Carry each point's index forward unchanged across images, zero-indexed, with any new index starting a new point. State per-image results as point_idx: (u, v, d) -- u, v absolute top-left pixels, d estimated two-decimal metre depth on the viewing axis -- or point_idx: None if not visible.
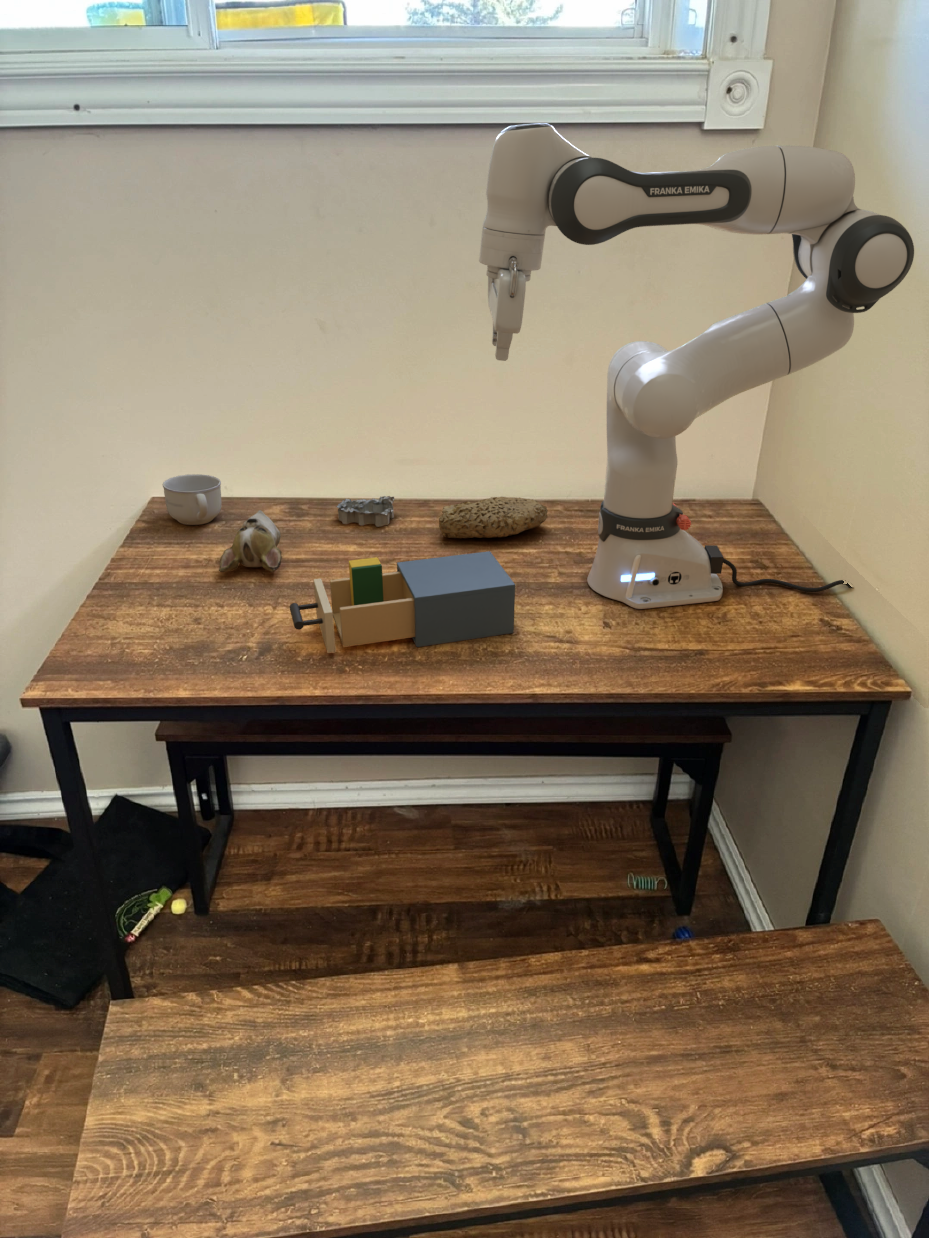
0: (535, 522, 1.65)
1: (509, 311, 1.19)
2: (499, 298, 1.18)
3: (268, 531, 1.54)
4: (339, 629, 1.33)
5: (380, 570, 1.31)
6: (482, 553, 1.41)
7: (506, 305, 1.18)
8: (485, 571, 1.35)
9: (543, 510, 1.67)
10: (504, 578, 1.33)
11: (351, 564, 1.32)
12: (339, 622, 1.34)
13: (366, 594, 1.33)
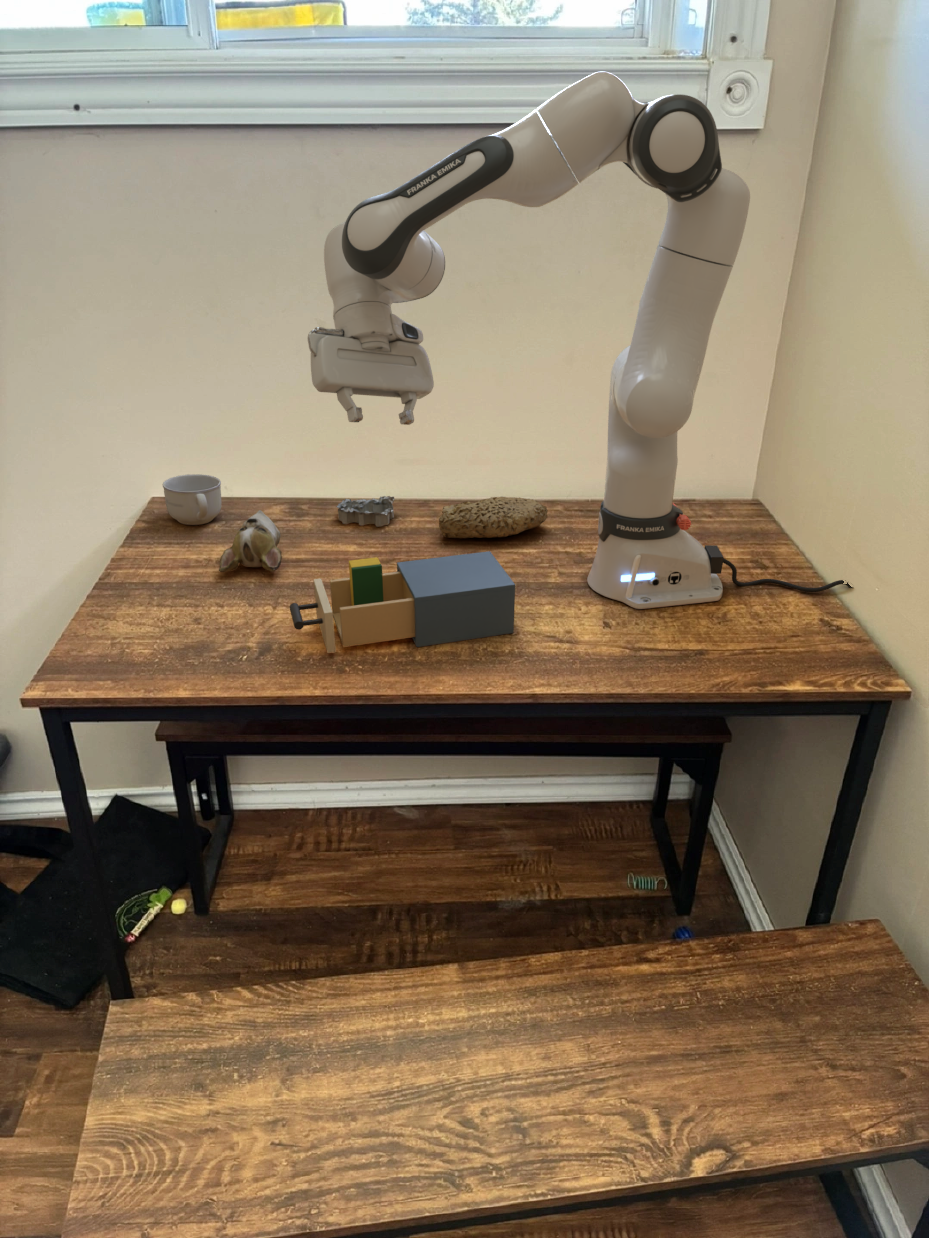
0: (535, 522, 1.65)
1: (315, 368, 1.26)
2: (311, 363, 1.27)
3: (268, 531, 1.54)
4: (339, 629, 1.33)
5: (380, 570, 1.31)
6: (482, 553, 1.41)
7: (313, 365, 1.26)
8: (485, 571, 1.35)
9: (543, 510, 1.67)
10: (504, 578, 1.33)
11: (351, 564, 1.32)
12: (339, 622, 1.34)
13: (366, 594, 1.33)
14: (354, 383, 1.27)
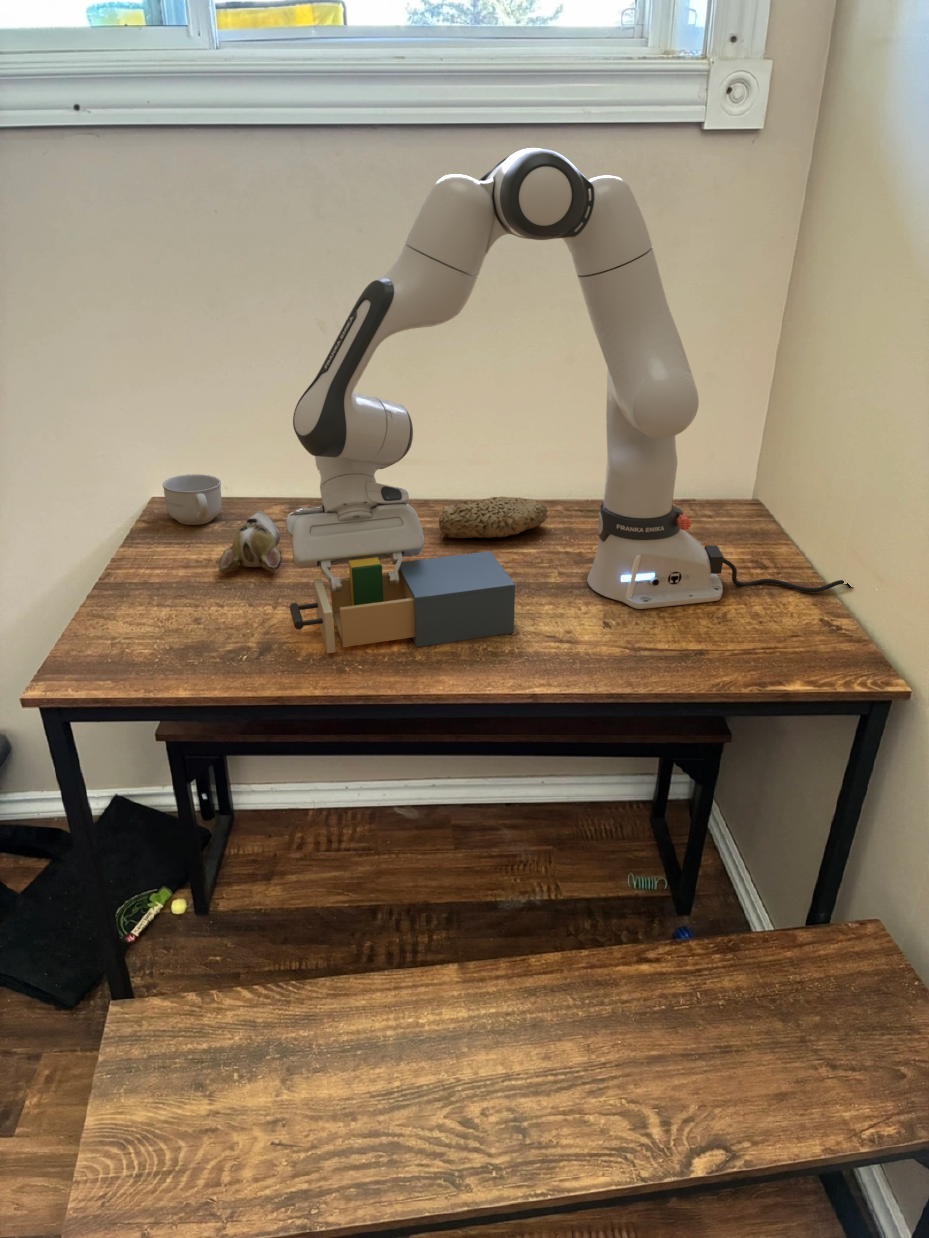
0: (535, 522, 1.65)
1: (292, 548, 1.33)
2: None
3: (268, 531, 1.54)
4: (339, 629, 1.33)
5: (380, 570, 1.31)
6: (482, 553, 1.41)
7: (292, 545, 1.34)
8: (485, 571, 1.35)
9: (543, 510, 1.67)
10: (504, 578, 1.33)
11: (351, 564, 1.32)
12: (339, 622, 1.34)
13: (366, 594, 1.33)
14: (328, 556, 1.32)
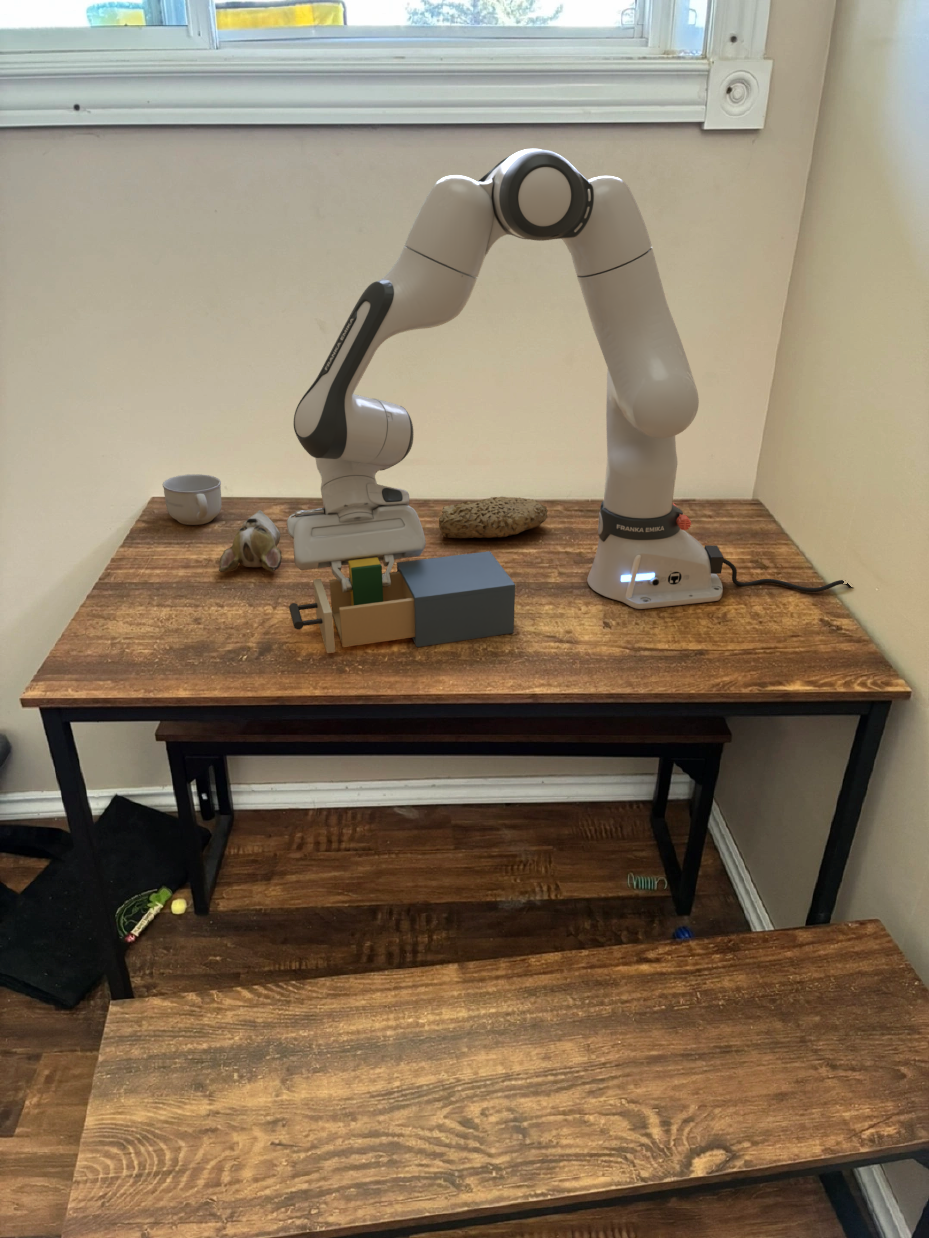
0: (535, 522, 1.65)
1: None
2: None
3: (268, 531, 1.54)
4: (339, 629, 1.33)
5: (380, 570, 1.31)
6: (482, 553, 1.41)
7: None
8: (485, 571, 1.35)
9: (543, 510, 1.67)
10: (504, 578, 1.33)
11: (351, 564, 1.32)
12: (339, 622, 1.34)
13: (366, 594, 1.33)
14: (329, 557, 1.32)
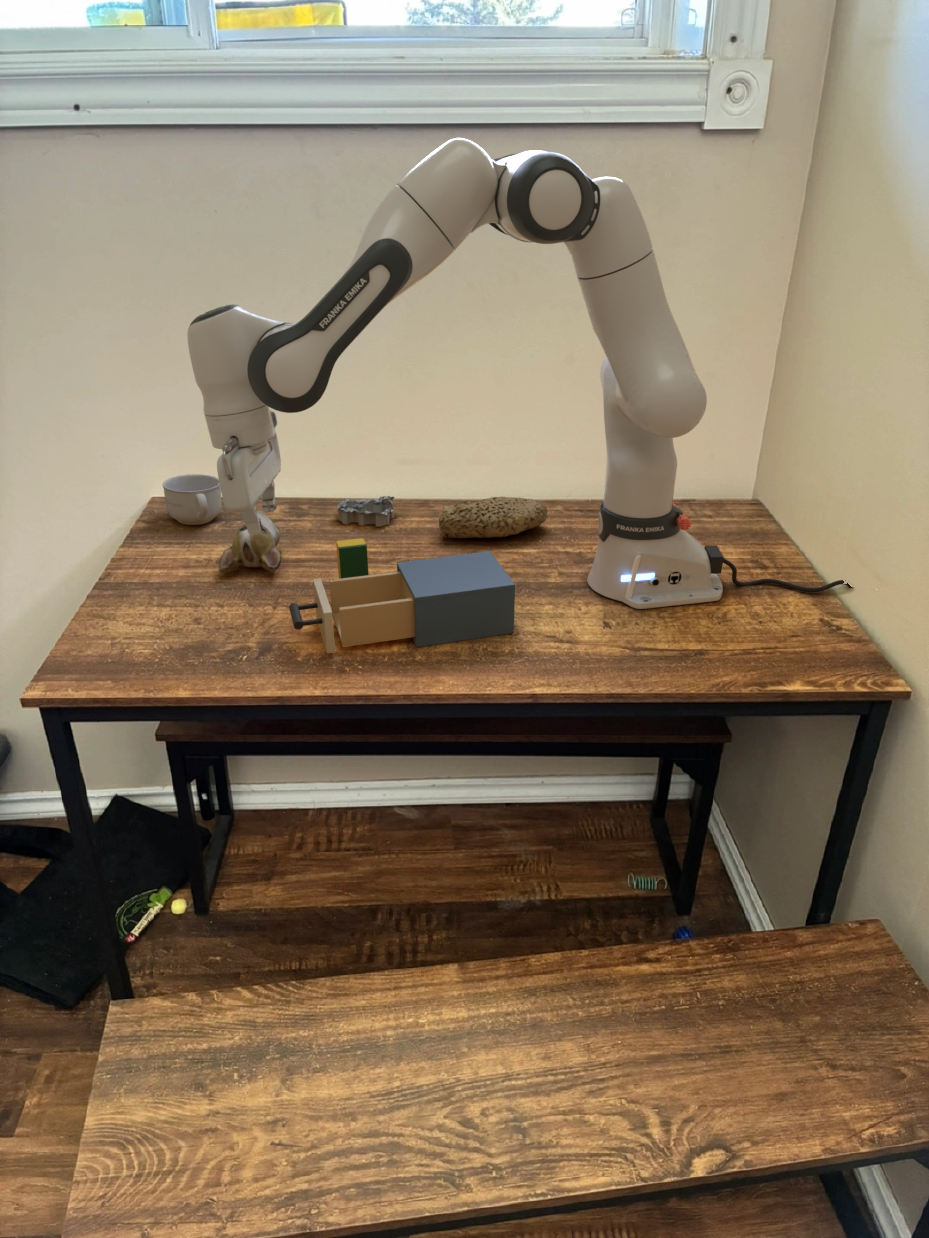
0: (535, 522, 1.65)
1: (232, 492, 1.18)
2: (219, 482, 1.17)
3: (268, 531, 1.54)
4: (339, 629, 1.33)
5: (365, 550, 1.42)
6: (482, 553, 1.41)
7: (228, 488, 1.17)
8: (485, 571, 1.35)
9: (543, 510, 1.67)
10: (504, 578, 1.33)
11: (338, 544, 1.42)
12: (339, 622, 1.34)
13: (352, 572, 1.44)
14: (259, 498, 1.23)
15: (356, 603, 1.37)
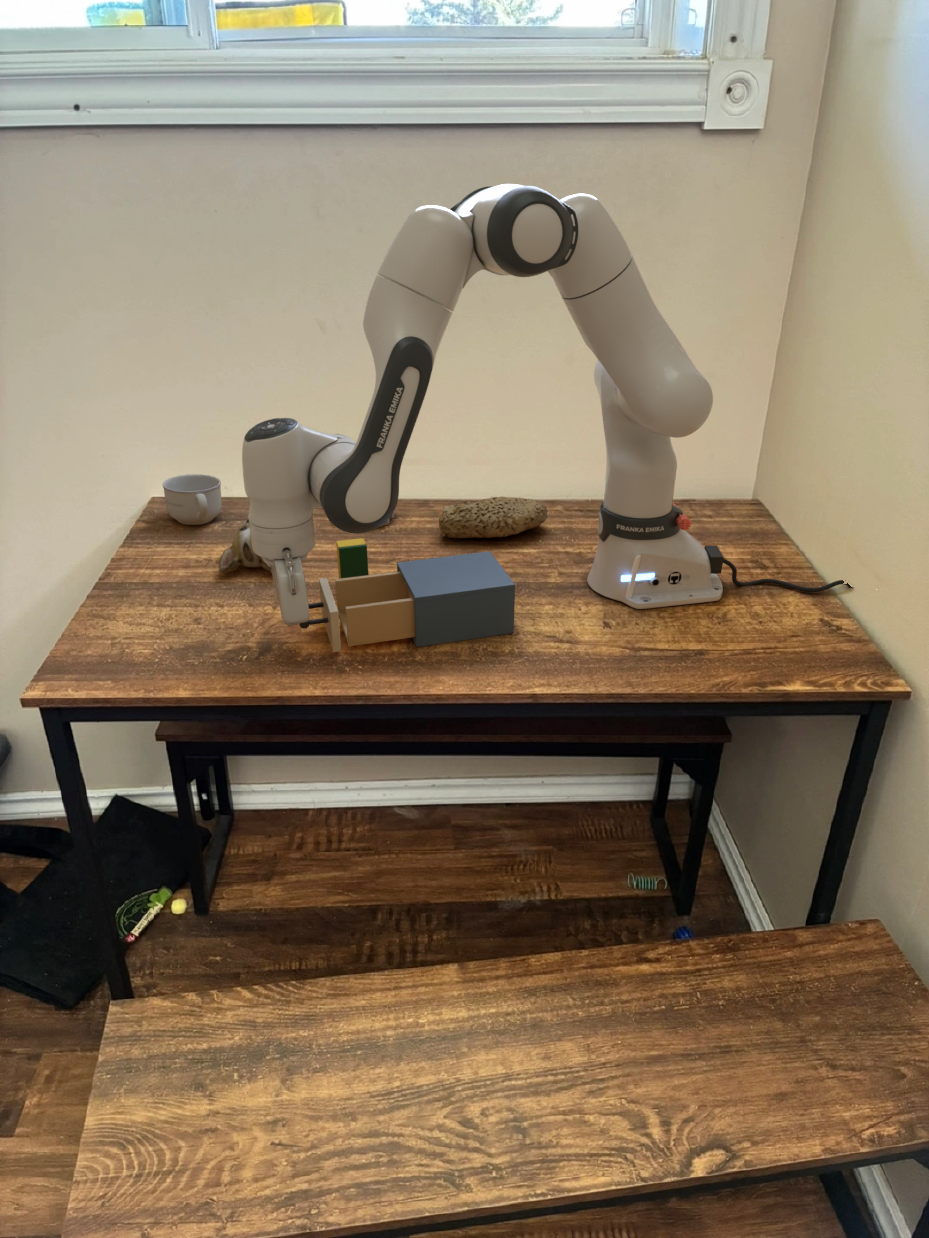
0: (535, 522, 1.65)
1: (294, 606, 1.19)
2: (281, 597, 1.18)
3: None
4: (344, 628, 1.33)
5: (365, 550, 1.42)
6: (482, 553, 1.41)
7: (290, 602, 1.18)
8: (485, 571, 1.35)
9: (543, 510, 1.67)
10: (504, 578, 1.33)
11: (338, 544, 1.42)
12: (344, 621, 1.35)
13: (352, 572, 1.44)
14: None
15: (362, 602, 1.37)
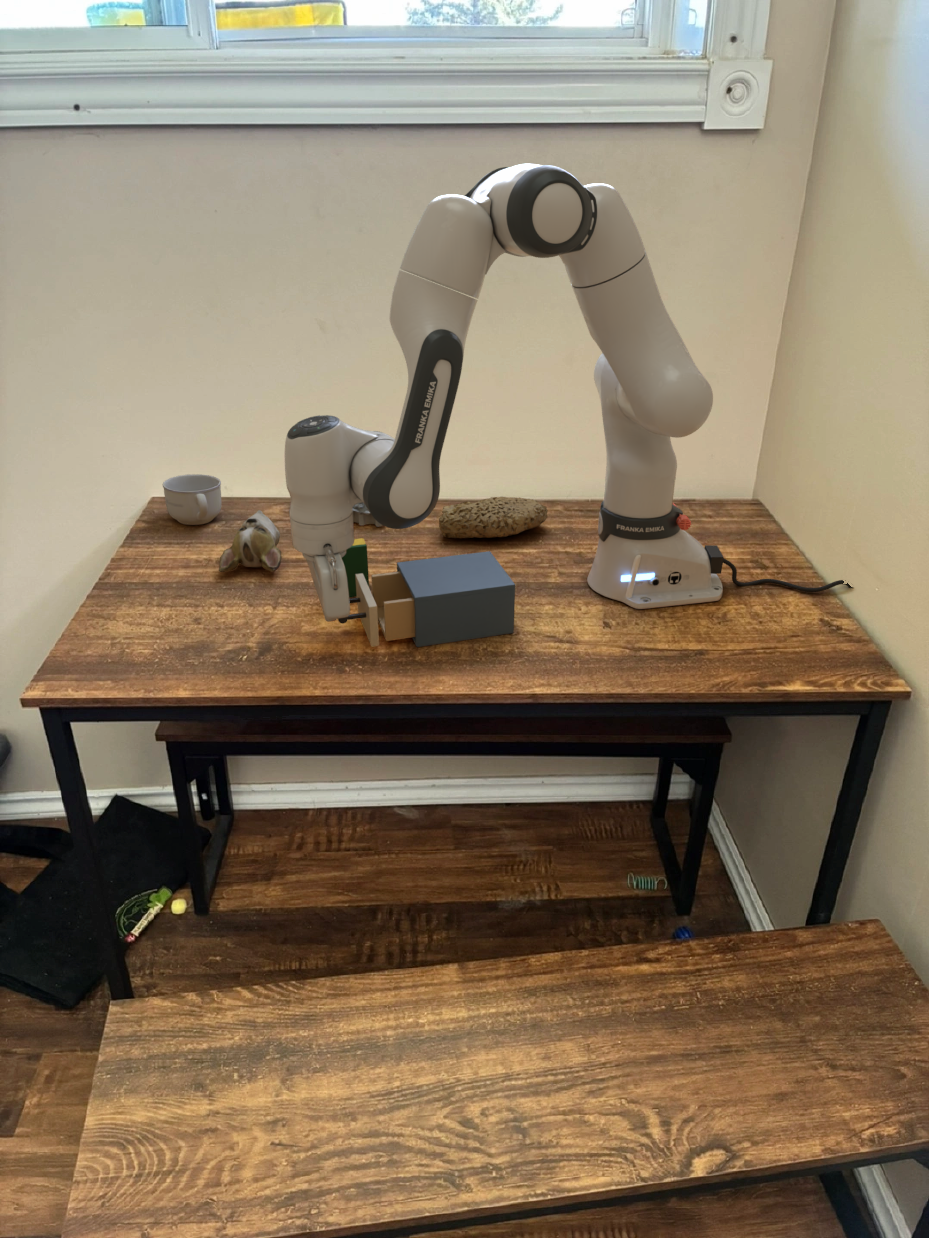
0: (535, 522, 1.65)
1: (336, 602, 1.20)
2: (323, 592, 1.19)
3: (268, 531, 1.54)
4: (381, 623, 1.34)
5: (365, 550, 1.42)
6: (482, 553, 1.41)
7: (332, 597, 1.20)
8: (485, 571, 1.35)
9: (543, 510, 1.67)
10: (504, 578, 1.33)
11: None
12: (381, 616, 1.36)
13: (352, 572, 1.44)
14: None
15: (397, 598, 1.39)
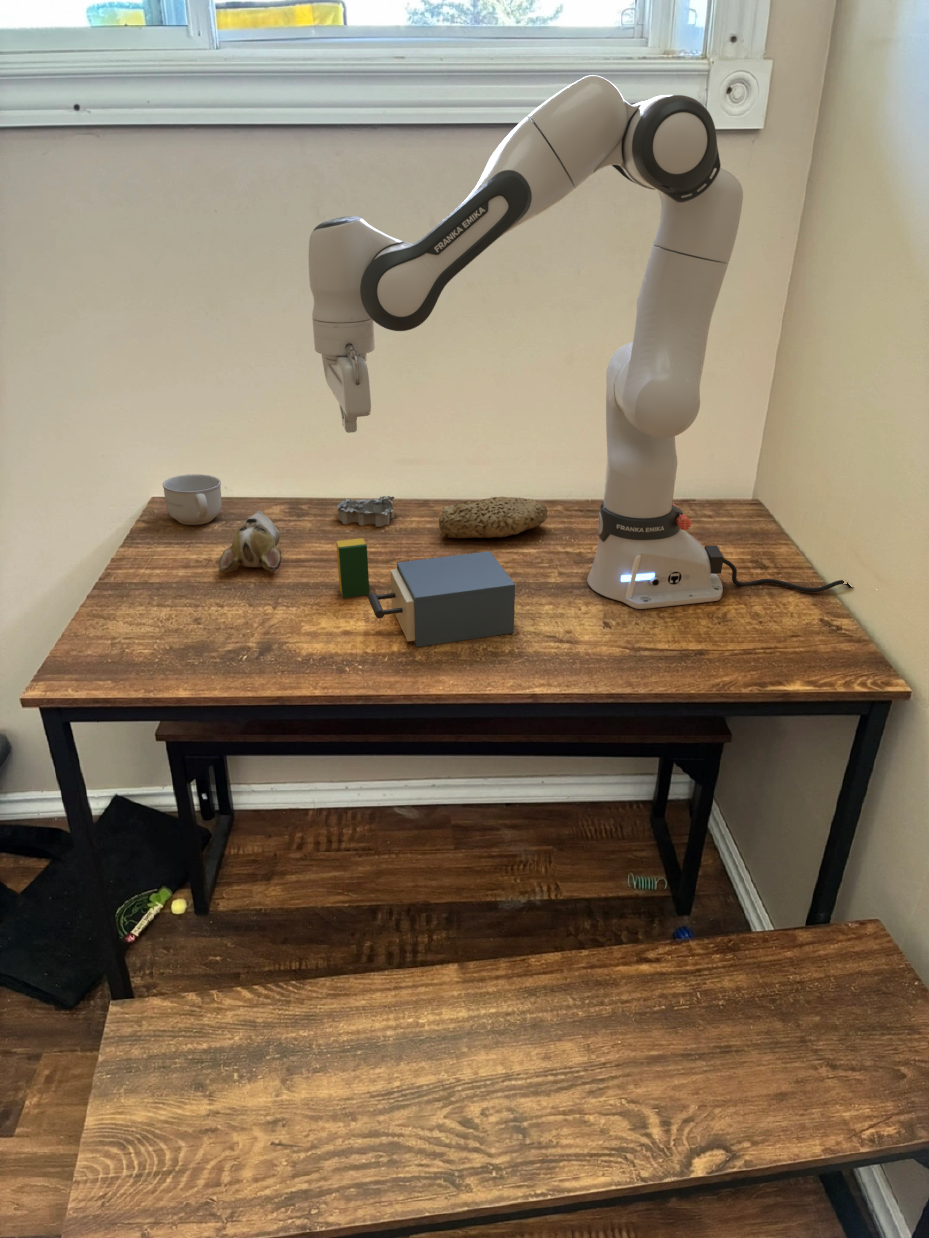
0: (535, 522, 1.65)
1: (357, 397, 1.24)
2: (345, 387, 1.23)
3: (267, 531, 1.54)
4: None
5: (365, 550, 1.42)
6: (482, 553, 1.41)
7: (353, 392, 1.24)
8: (485, 571, 1.35)
9: (543, 510, 1.67)
10: (504, 578, 1.33)
11: (338, 544, 1.42)
12: None
13: (352, 572, 1.44)
14: None
15: None
